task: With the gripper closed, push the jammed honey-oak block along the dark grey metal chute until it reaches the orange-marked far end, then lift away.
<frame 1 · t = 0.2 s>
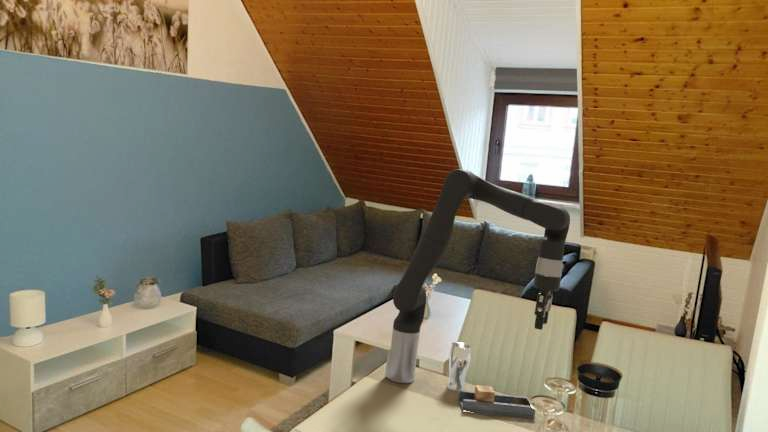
hand: (540, 326, 164), 29 cm above the table, fingers open, 8 cm apart
chute: (495, 409, 169), on the table
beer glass: (455, 389, 183), on the table
oak block: (484, 396, 169), point 4 cm above the table, slide at 0.0 cm
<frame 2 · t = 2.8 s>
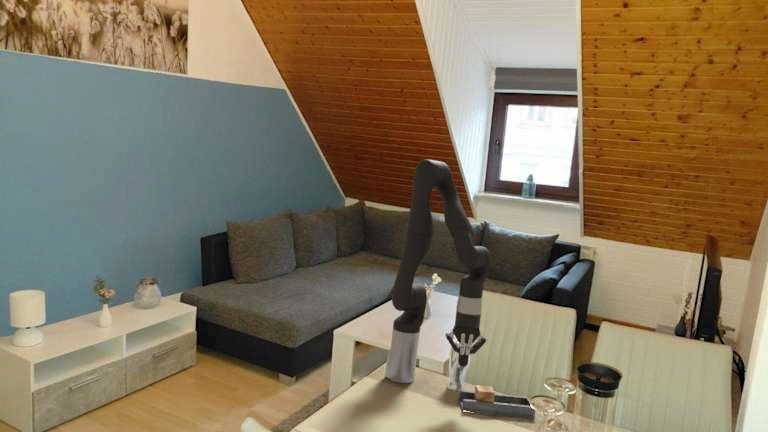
hand: (462, 365, 168), 13 cm above the table, fingers closed
nothing on the table moved.
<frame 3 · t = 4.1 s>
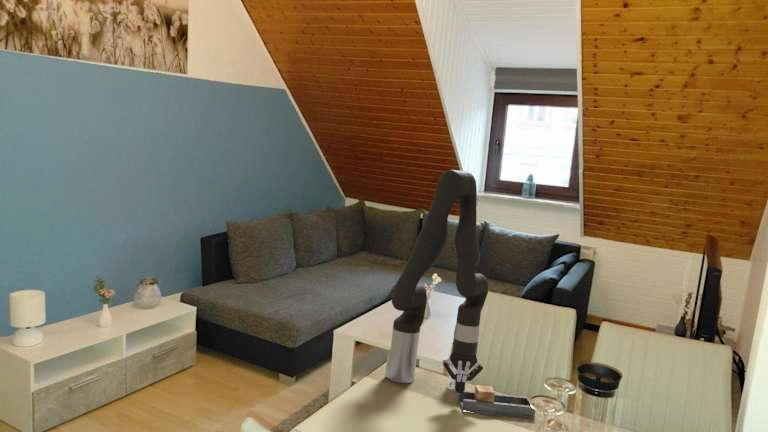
hand: (459, 392, 169), 4 cm above the table, fingers closed
nothing on the table moved.
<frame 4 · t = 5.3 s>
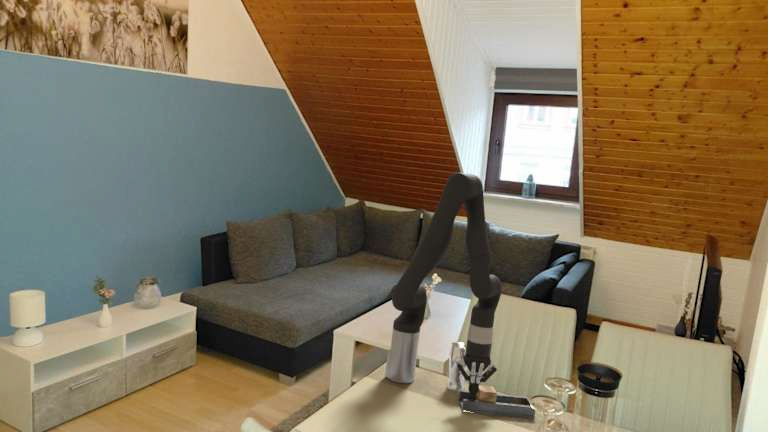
hand: (472, 393, 168), 4 cm above the table, fingers closed
oak block: (486, 396, 169), point 4 cm above the table, slide at 0.6 cm, touching gripper
everything else where it was.
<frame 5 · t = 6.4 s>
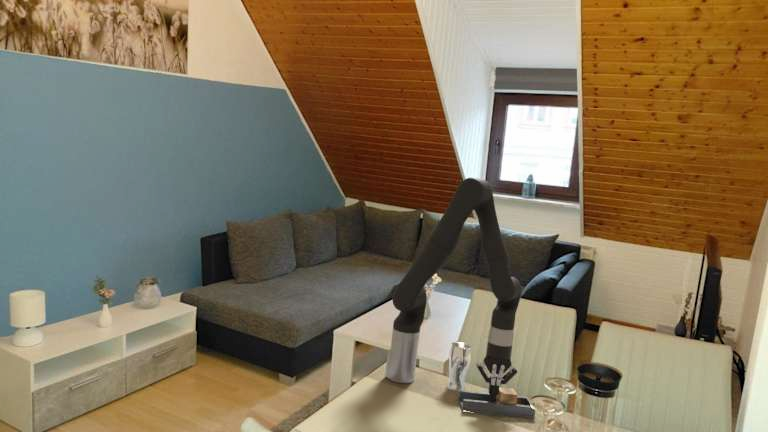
hand: (493, 395, 169), 4 cm above the table, fingers closed
oak block: (506, 398, 169), point 4 cm above the table, slide at 7.0 cm, touching gripper
everything else where it was.
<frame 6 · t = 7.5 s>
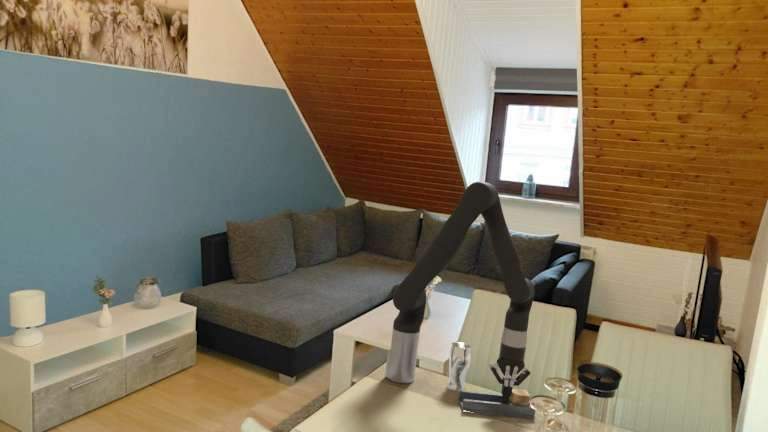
hand: (505, 397, 169), 4 cm above the table, fingers closed
oak block: (519, 400, 169), point 4 cm above the table, slide at 11.0 cm, touching gripper
everything else where it was.
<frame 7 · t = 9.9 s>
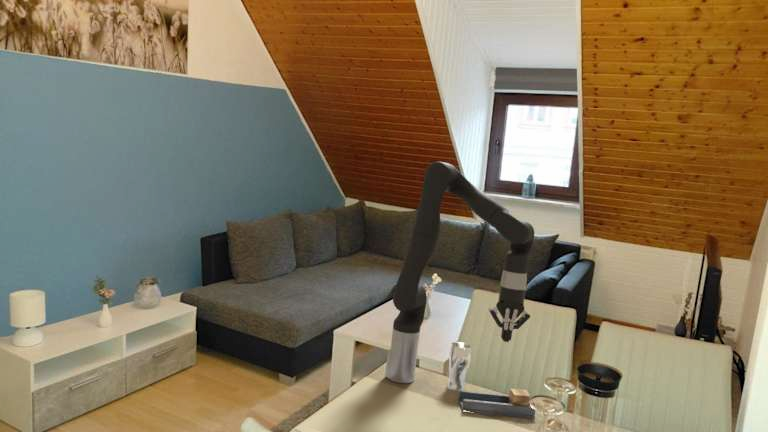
hand: (505, 341, 168), 22 cm above the table, fingers closed
oak block: (519, 400, 169), point 4 cm above the table, slide at 11.0 cm
everything else where it was.
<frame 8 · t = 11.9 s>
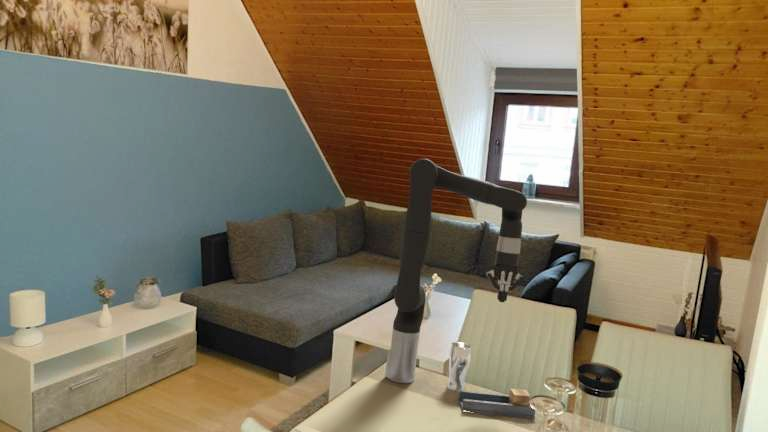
hand: (501, 301, 182), 31 cm above the table, fingers closed
nothing on the table moved.
at the end: oak block slide at 11.0 cm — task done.
